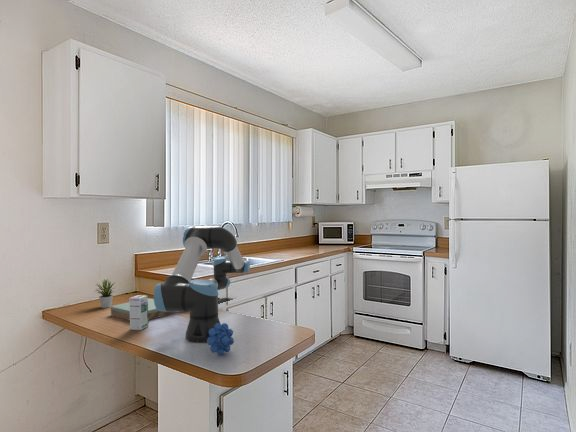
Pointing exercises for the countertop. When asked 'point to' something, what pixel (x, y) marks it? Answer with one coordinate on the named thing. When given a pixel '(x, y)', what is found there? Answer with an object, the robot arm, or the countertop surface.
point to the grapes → (220, 338)
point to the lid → (126, 308)
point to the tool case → (150, 315)
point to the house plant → (105, 294)
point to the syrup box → (138, 312)
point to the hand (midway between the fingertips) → (175, 293)
